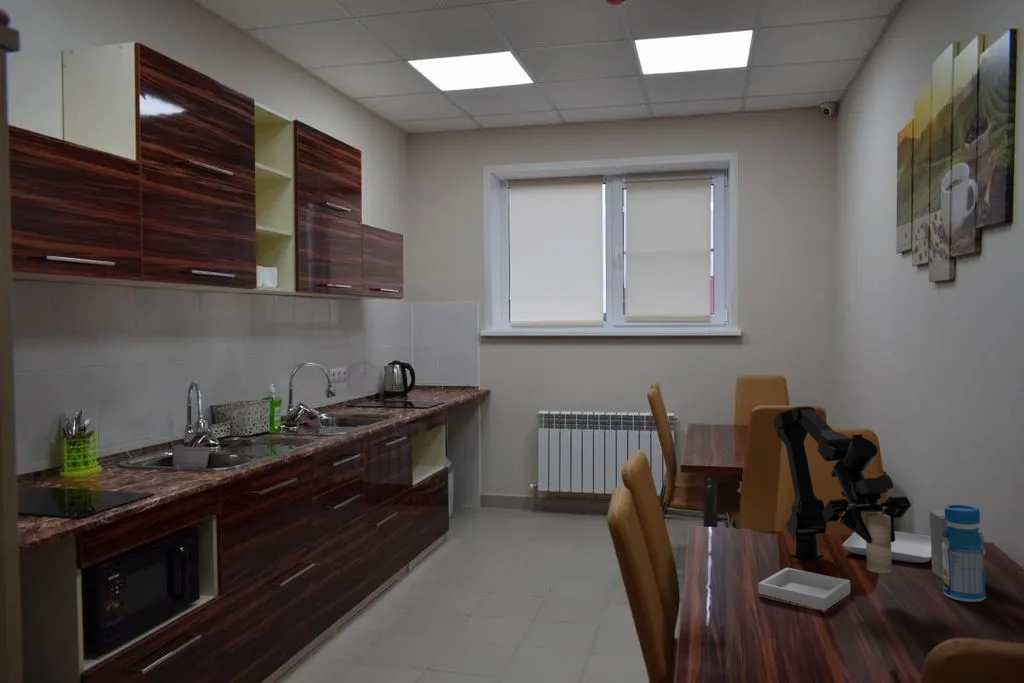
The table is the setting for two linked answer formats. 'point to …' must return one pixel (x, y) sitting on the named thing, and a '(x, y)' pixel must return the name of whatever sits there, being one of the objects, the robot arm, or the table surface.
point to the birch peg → (879, 543)
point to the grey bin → (805, 588)
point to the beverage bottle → (963, 554)
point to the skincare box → (937, 541)
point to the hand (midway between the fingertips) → (882, 541)
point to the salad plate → (897, 547)
